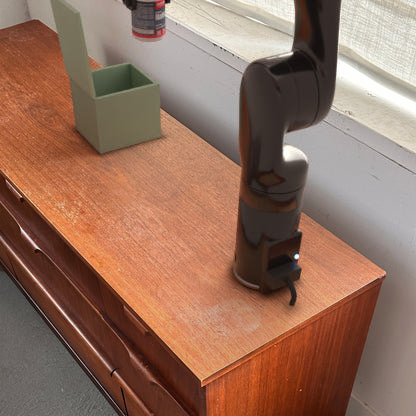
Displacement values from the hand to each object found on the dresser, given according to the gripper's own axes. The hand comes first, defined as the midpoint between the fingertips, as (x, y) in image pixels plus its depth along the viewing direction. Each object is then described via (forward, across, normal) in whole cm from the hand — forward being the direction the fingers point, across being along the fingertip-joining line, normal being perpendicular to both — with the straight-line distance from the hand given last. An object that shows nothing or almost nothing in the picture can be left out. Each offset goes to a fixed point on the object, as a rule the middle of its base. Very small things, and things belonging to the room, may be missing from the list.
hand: (148, 4), depth 95 cm
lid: (+11, -5, +19) cm, 23 cm away
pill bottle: (+5, 0, 0) cm, 5 cm away
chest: (+30, +2, +19) cm, 35 cm away
